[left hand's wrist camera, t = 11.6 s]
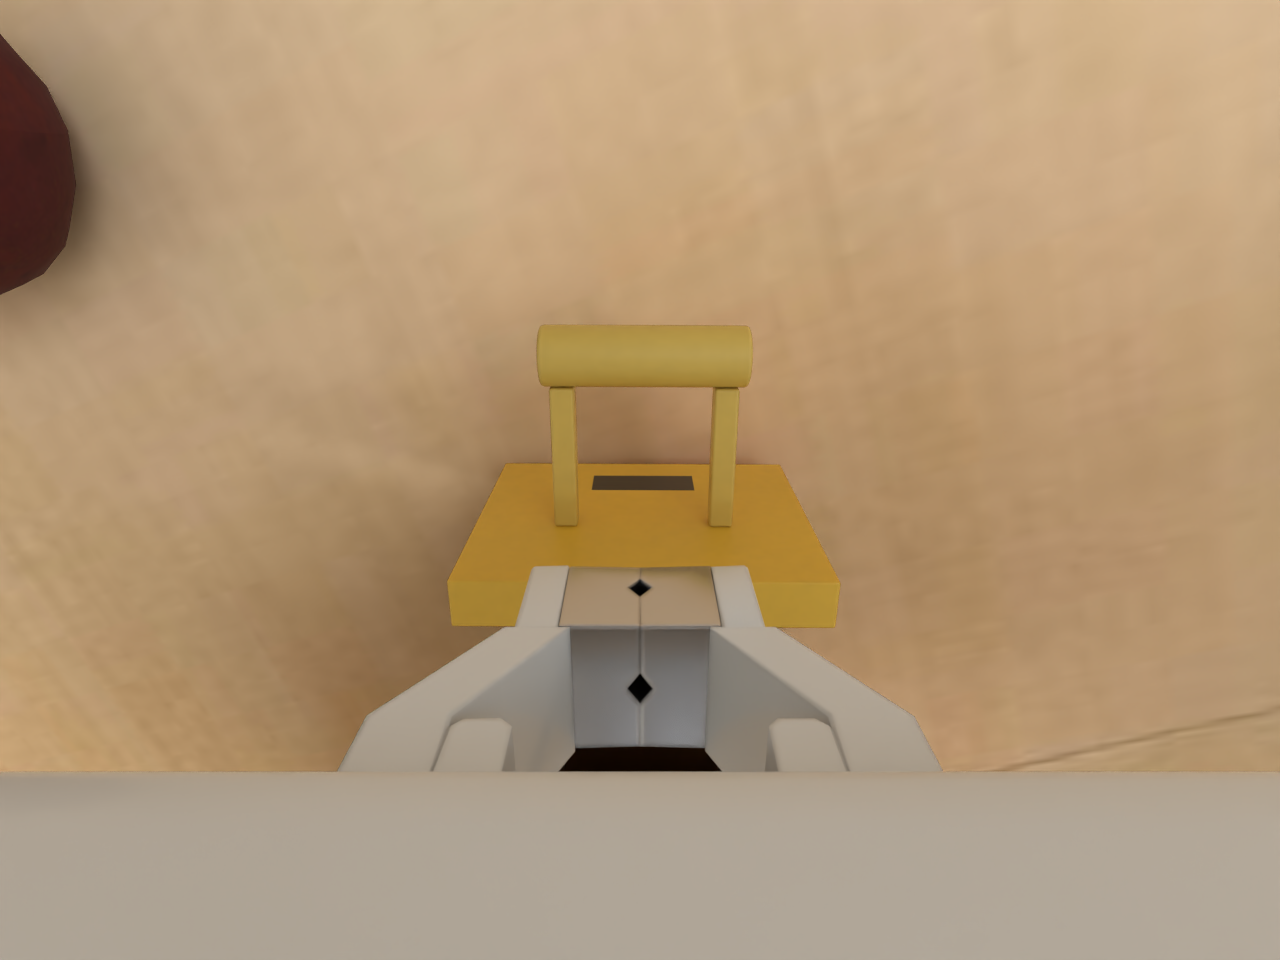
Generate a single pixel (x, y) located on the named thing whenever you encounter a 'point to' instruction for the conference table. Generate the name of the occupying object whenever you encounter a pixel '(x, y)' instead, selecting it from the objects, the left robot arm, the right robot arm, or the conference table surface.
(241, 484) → the conference table surface
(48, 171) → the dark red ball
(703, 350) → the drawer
